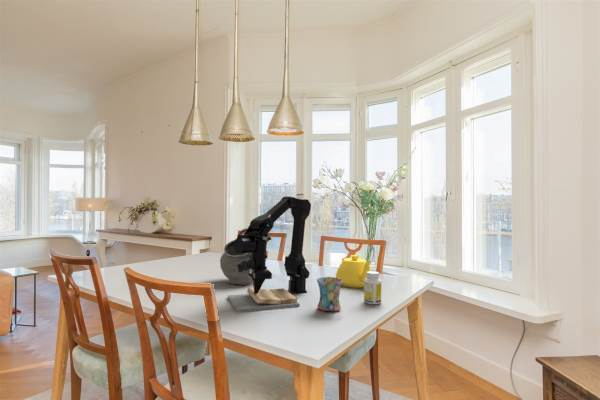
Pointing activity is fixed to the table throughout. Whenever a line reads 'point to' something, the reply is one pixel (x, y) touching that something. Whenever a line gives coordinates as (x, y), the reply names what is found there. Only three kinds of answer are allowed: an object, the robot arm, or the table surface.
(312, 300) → the table surface
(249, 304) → the underlay
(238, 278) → the pot
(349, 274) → the teapot
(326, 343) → the table surface
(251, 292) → the click plank
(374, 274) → the pill bottle
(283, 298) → the plank
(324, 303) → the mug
